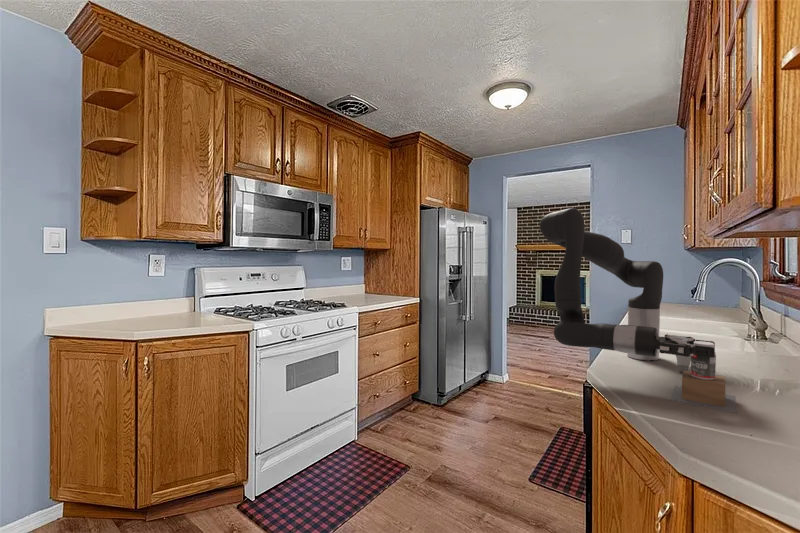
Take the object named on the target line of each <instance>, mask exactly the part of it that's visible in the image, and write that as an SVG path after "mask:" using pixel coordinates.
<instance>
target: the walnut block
mask: <svg viewBox="0 0 800 533" xmlns="http://www.w3.org/2000/svg"><path fill="white" fill-rule="evenodd" d="M690 372H691V370H689V371H684V372H683V373H682V377H681V387H682V399H686V400H691V401H697V402H702V403H707V404H713V405H718V406H723V407H725V394H726V376H722V375H717V374H715V379H714V380H704V379H698V378H695V377H693V376H691V374H690Z"/></svg>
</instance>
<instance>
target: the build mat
mask: <svg viewBox="0 0 800 533" xmlns="http://www.w3.org/2000/svg"><path fill="white" fill-rule="evenodd" d="M670 401H671V402H677V403H682V404H685V405H691V406H692V405H693V406H697V407H703V408H708V409H714V410H718V411H723V412H728V413H729V412H730V413H734V414H738V409H737V403H736V396H735V395H733V394H726V393H725V407H723V406H718V405H713V404H707V403H702V402H697V401H691V400H686V399H682V385H681V386H679V385H674V387H673V390H672V393H671V397H670Z"/></svg>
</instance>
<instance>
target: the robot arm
mask: <svg viewBox="0 0 800 533" xmlns="http://www.w3.org/2000/svg"><path fill="white" fill-rule="evenodd" d="M585 227H586V225H585V219H584V216H583V214H582V212H581V211H580V210H579V209H577V208H574V207H573V208H572V207H571V208H566V209H561V210H557V211H553V212H550V213H548V214H546V215H545V216H543V217H542V218H541V220H540V222H539V230H540V233H541V235H542V236H543V238H545V239H546V240H547V241H549V242H550V243H552V244H554V245H557V246H560V247H562V248H565V252H564V256H563V259H562V262H561V264H560V267H559V269H558V270H557V271H558V272H557V274H556V277H555V280H554V300H555V301H554V303H555V304H554V305H555V308H556V309H557V311H558V312H559V322H558V323H557V324H556V325H555V326H554V329H553V336H554V338H555V339H556V341H557V342H558V343H560V344H562V345H564V346H567V347H577V348H579V347H580V348H581V347H582V348H595V349H601V350H609V351H614V352H615V351H616V352H620V353H623V354H627V357H629V358H632V359H636V360H641V361H650V360H654V361H659V360H660V354H668V355H673V356H676V355H680V356H686V357H690V356H693V355H699V356H707V357H714V356H715V353H716V350H715V349H714V348H713V347H707V346H698V345H695V347H694V345H693V344H694V341H704V342H710V343H714V344H715V345H716V343H715V342H714V341H712V340H704V339H696V338H694V337H691V336H683V335H673V334H668V333H666V334H664V336H660V325H661V322H660V321H661V320H660V319H661V318H660V315H661V314H660V313H661V311H660V309H661V302H662V300H663V286H664V268H663V266H662V264H661V263H660V262H658V261H654V260H650V261H649V260H631V259H629V258H627V257H625V252H624V248H623V247H622V246H621V244H619V243H618V242H616V241H615V240H613V239H612V238H610V237H608V236H606V235H604V234H601V233H596V232H590V231H585V230H586V229H585ZM583 258H584V259H586V260H587V261H589V262H591V263H592V264H594V265H596V266H598V267H600V268H601V269H603V270H605V271H607V272H609V273H611V274H612V275H614V276H616V277H617V278H618V279H619V280H620V281H622V282H623V283H624V284H626V285H627V286H629V287H631V288H640V289H643V290H642V293H641V294H640V295H638V296H635V297H631V298H629V299H628V303H627V304H628V306H627V307H628V308H627V310H628V311H627V312H628V314H627V315H628V316H627V324H614V323H613V324H611V323H599V322H598V323H586V322H585V318H584V312H583V309H582V294H581V290H582V288H581V269H582V268H581V267H582V259H583ZM658 359H659V360H658Z"/></svg>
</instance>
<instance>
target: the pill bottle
mask: <svg viewBox="0 0 800 533" xmlns="http://www.w3.org/2000/svg"><path fill="white" fill-rule="evenodd" d="M704 341H705V340H704ZM704 341H696V340H695V341H694V344H693V345H694V347H695V345H698V346H707V347H713V348H714V349H715V348H716V343H715V342H714V343H715V344H714V343H710V342H704ZM716 359H717V353H716V352H715V356H714V357H707V356H699V355H693V356H691V362H690V374H691V376H693V377H695V378H698V379H704V380H714V379H715V375H716V365H717V363H716V362H717V360H716Z"/></svg>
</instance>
